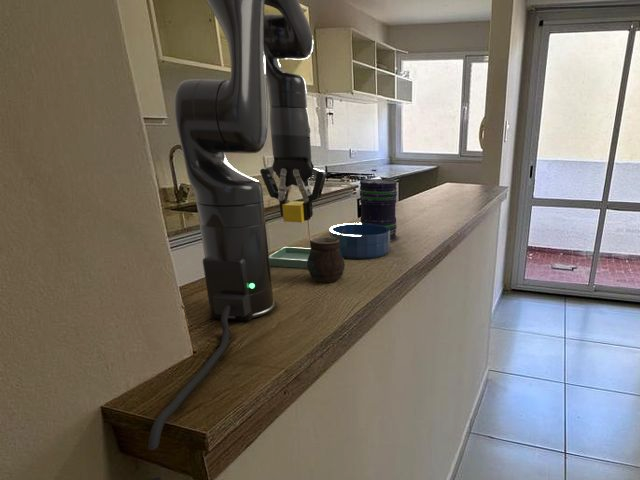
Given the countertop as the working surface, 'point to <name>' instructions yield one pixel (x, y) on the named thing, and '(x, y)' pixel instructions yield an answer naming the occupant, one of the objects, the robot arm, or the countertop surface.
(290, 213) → the sponge
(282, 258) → the soap dish
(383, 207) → the storage jar
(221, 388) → the countertop surface
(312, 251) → the mate gourd
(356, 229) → the bowl
